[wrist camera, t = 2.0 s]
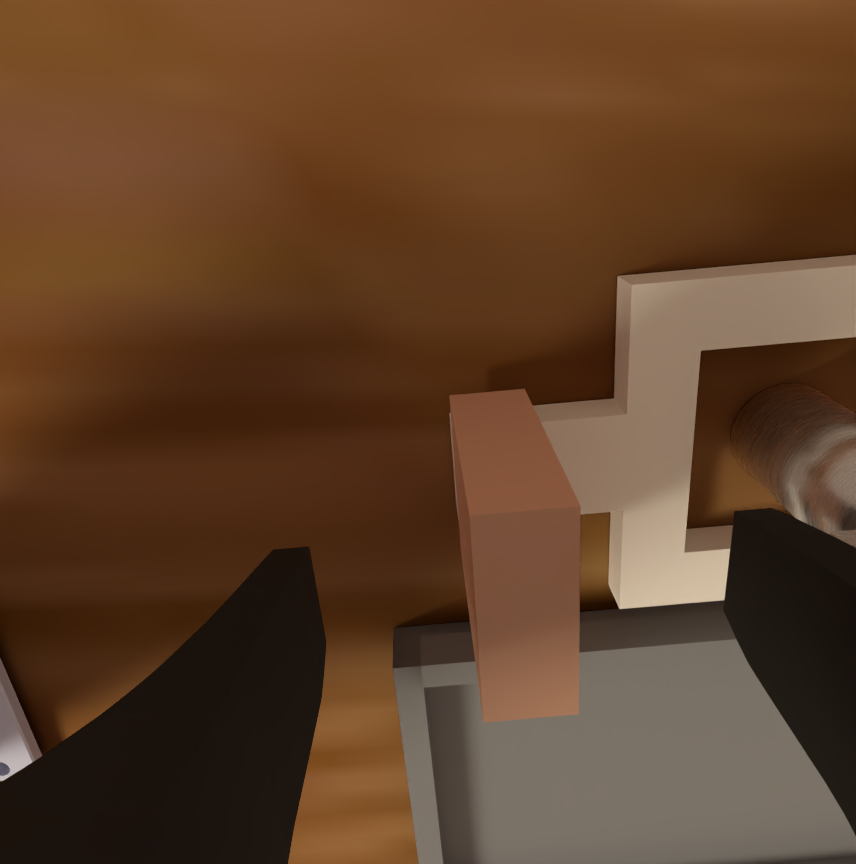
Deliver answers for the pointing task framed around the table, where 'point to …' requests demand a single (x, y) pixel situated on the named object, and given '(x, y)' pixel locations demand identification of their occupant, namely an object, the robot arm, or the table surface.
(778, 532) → the robot arm
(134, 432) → the table surface
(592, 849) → the tray
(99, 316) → the table surface
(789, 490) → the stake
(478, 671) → the square frame with handle
